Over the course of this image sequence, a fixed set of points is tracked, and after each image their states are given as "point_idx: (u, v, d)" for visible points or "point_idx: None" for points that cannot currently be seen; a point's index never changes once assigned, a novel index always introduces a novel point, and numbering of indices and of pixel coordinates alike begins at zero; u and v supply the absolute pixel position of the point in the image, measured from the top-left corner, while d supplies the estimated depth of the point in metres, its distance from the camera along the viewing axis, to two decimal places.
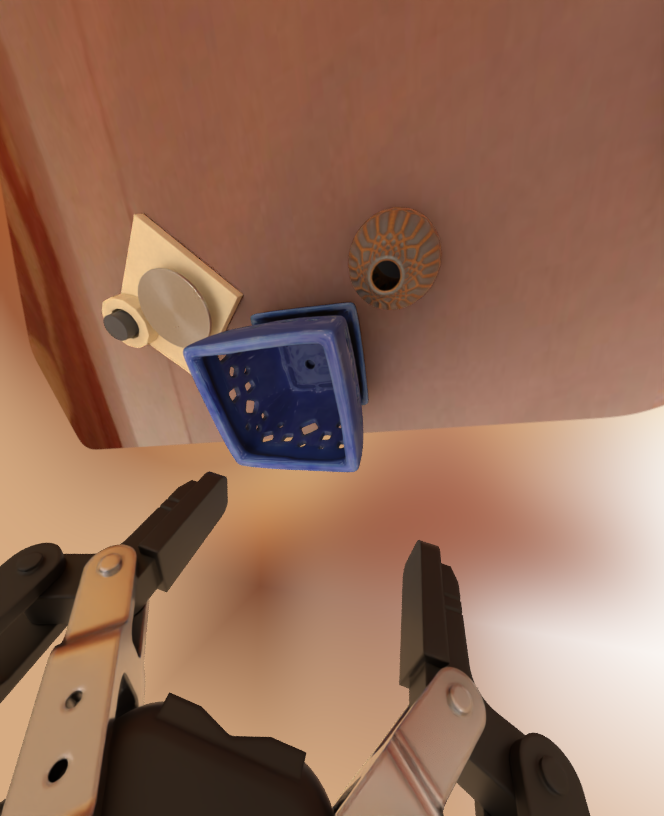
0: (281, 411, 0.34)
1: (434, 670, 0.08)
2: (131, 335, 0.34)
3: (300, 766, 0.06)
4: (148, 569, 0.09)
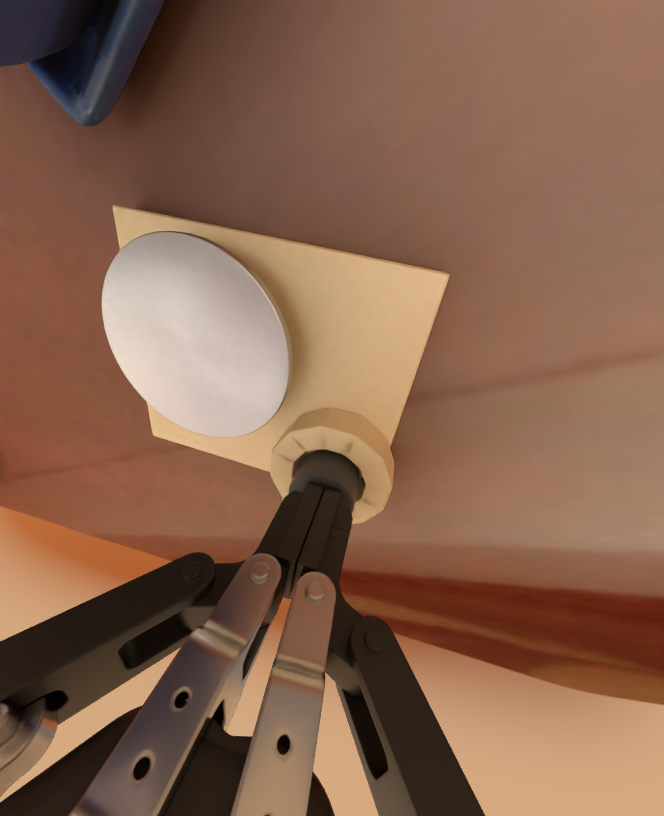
0: None
1: None
2: (332, 467, 0.13)
3: None
4: (285, 577, 0.09)
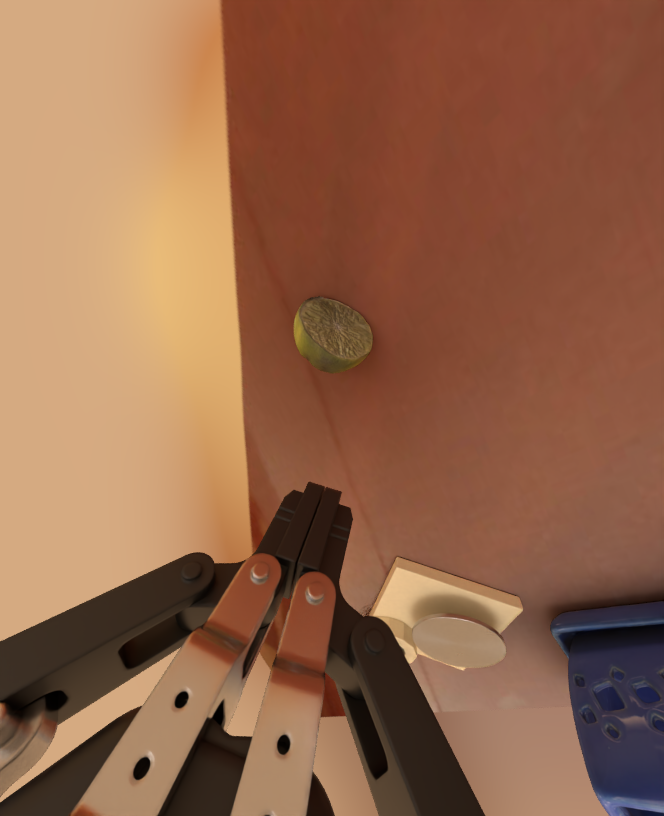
0: None
1: None
2: None
3: None
4: (285, 578, 0.09)
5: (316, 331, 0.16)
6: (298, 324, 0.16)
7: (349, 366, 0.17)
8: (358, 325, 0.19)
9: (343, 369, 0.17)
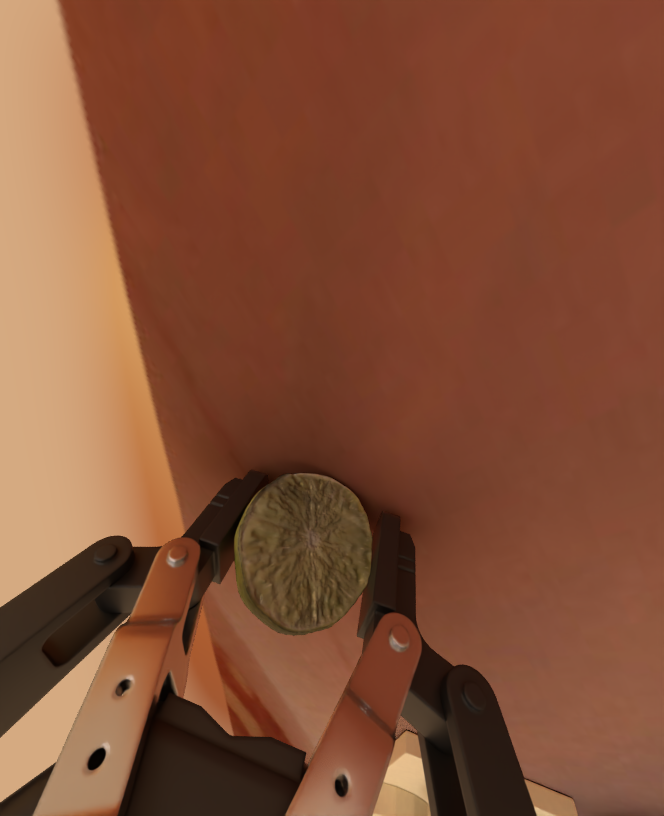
0: None
1: None
2: None
3: (300, 766, 0.06)
4: (209, 561, 0.09)
5: (269, 576, 0.09)
6: (237, 563, 0.09)
7: None
8: (348, 520, 0.11)
9: None
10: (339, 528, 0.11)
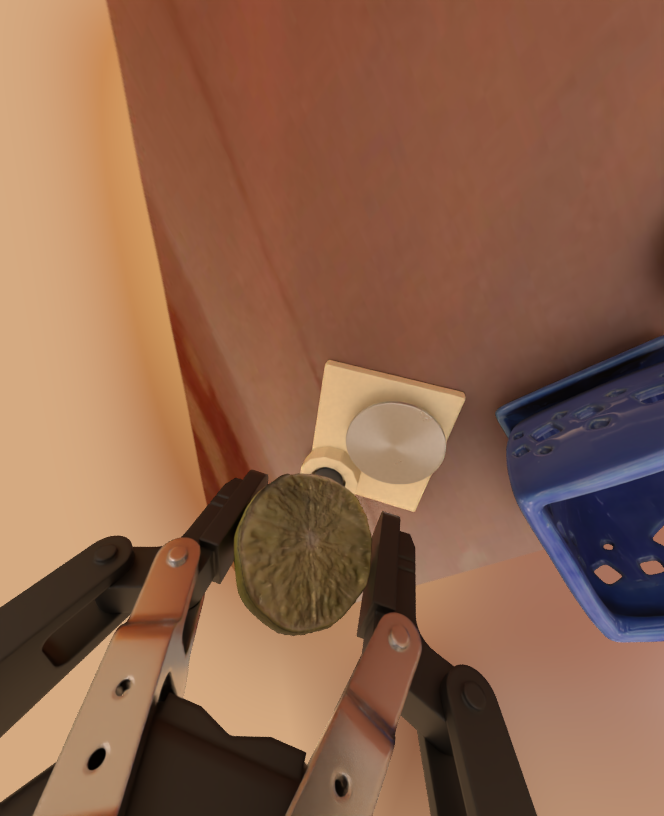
0: (583, 521, 0.23)
1: None
2: None
3: (300, 766, 0.06)
4: (209, 561, 0.09)
5: (269, 576, 0.09)
6: (236, 563, 0.09)
7: None
8: (347, 520, 0.11)
9: None
10: (338, 528, 0.11)
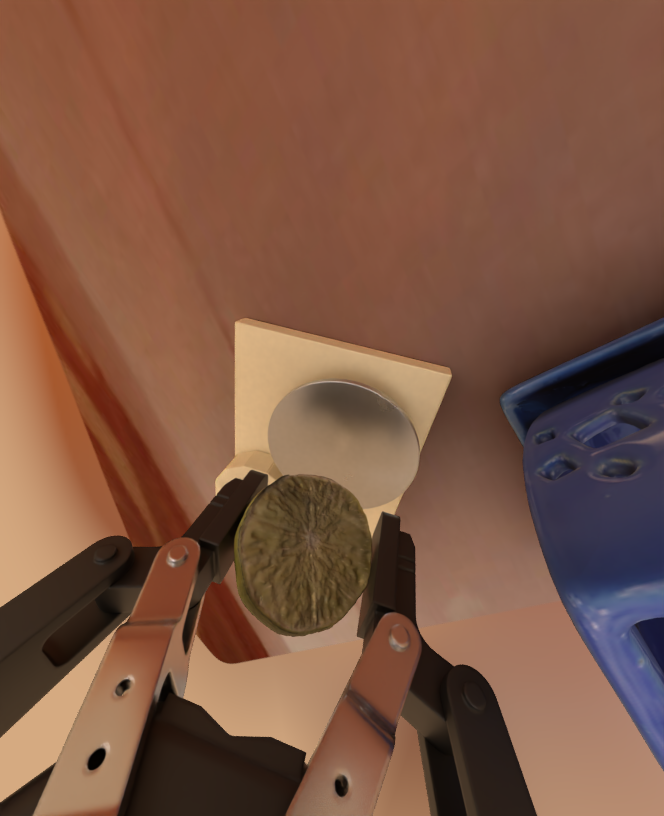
0: None
1: None
2: None
3: (300, 766, 0.06)
4: (209, 561, 0.09)
5: (269, 577, 0.09)
6: (237, 564, 0.09)
7: None
8: (348, 521, 0.11)
9: None
10: (339, 529, 0.11)
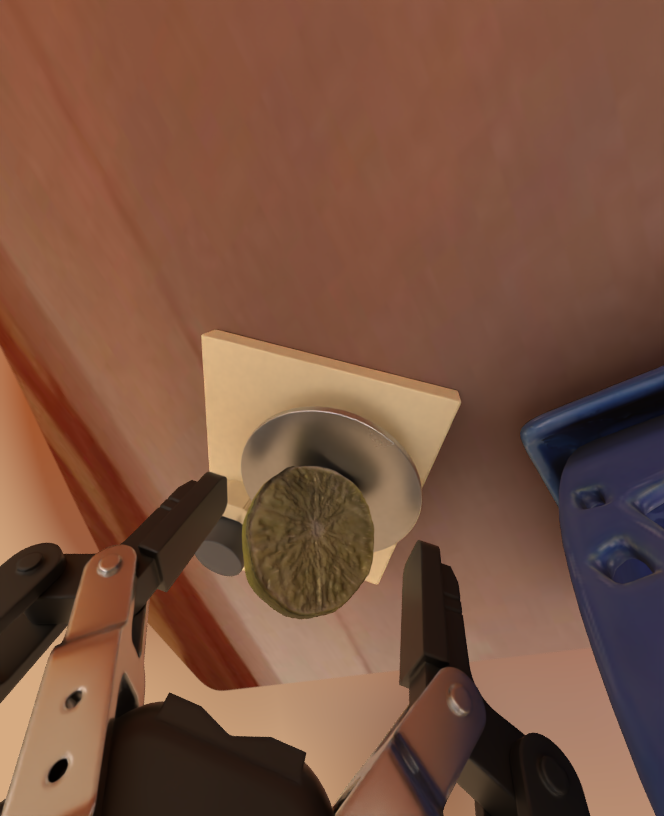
0: None
1: (434, 670, 0.08)
2: None
3: (300, 766, 0.06)
4: (148, 569, 0.09)
5: (276, 562, 0.09)
6: (245, 550, 0.09)
7: None
8: (351, 510, 0.12)
9: None
10: (342, 518, 0.11)
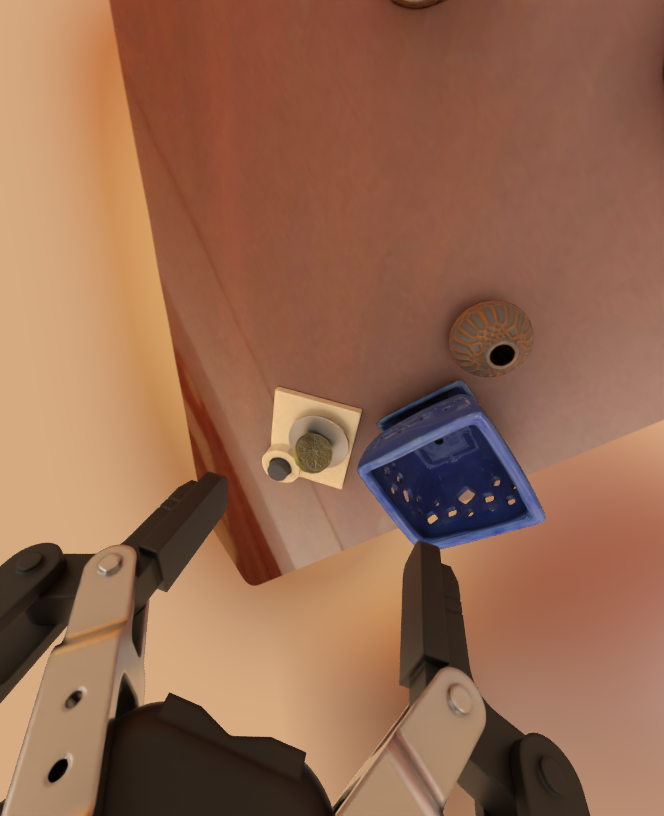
0: (429, 490, 0.37)
1: (434, 670, 0.08)
2: (287, 473, 0.42)
3: (300, 766, 0.06)
4: (148, 569, 0.09)
5: (304, 457, 0.35)
6: (295, 454, 0.35)
7: None
8: (325, 447, 0.37)
9: (317, 472, 0.36)
10: (322, 449, 0.37)
